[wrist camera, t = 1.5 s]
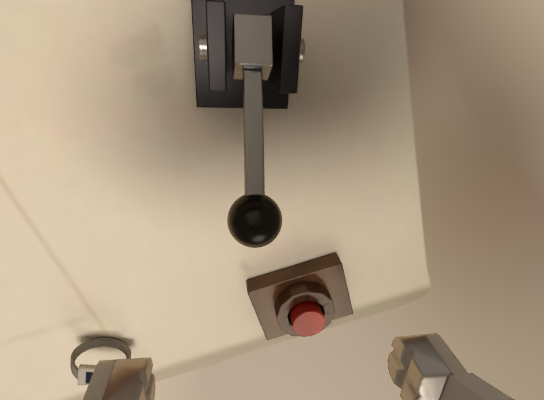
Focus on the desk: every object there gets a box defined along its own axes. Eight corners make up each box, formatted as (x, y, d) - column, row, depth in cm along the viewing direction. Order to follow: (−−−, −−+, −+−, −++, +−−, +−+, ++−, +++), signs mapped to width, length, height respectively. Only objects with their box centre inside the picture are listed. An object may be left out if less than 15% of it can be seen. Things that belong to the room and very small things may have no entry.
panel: (336, 252, 39) (347, 273, 36) (347, 301, 43) (358, 325, 39) (246, 280, 39) (248, 304, 36) (265, 326, 43) (268, 353, 39)
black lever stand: (285, 106, 31) (317, 141, 21) (197, 104, 30) (184, 140, 20) (292, -21, 27) (338, -59, 16) (190, -29, 26) (169, -74, 15)
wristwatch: (136, 334, 41) (125, 371, 36) (134, 350, 42) (123, 388, 37) (80, 330, 39) (62, 367, 35) (79, 347, 40) (62, 385, 36)
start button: (317, 296, 37) (321, 307, 35) (323, 319, 39) (328, 330, 37) (286, 305, 37) (289, 317, 35) (294, 328, 39) (297, 340, 37)
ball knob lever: (278, 242, 22) (287, 250, 18) (227, 244, 21) (227, 252, 18) (274, 38, 21) (283, 11, 18) (223, 36, 21) (223, 7, 18)
